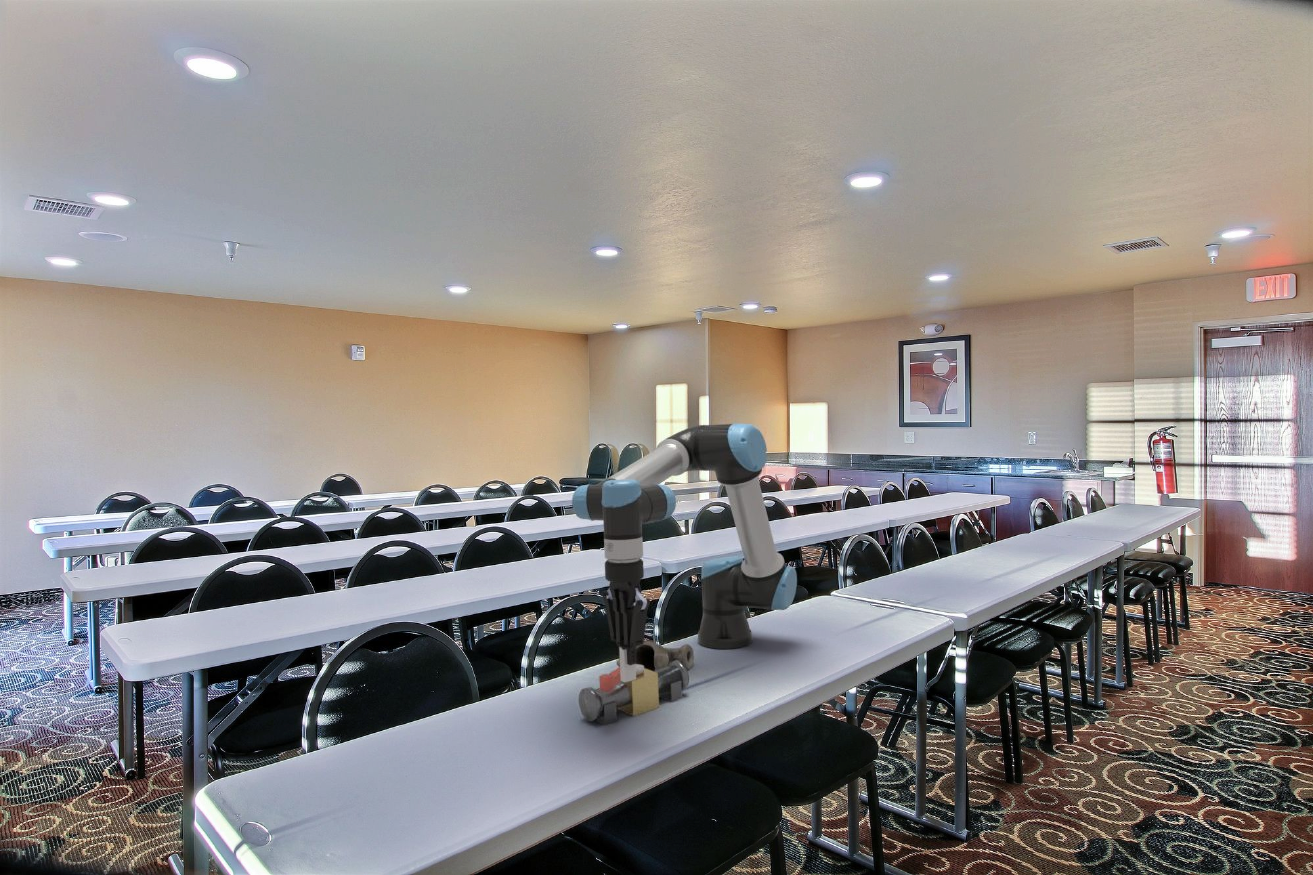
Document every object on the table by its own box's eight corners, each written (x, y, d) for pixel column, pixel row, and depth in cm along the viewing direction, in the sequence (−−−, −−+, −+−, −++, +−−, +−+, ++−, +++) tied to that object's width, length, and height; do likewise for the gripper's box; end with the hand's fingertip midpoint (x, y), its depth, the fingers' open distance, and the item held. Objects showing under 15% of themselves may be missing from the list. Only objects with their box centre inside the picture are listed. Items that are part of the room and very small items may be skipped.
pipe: (648, 699, 189) (621, 685, 178) (636, 668, 195) (609, 652, 183) (702, 667, 188) (679, 651, 176) (688, 636, 193) (665, 619, 182)
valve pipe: (670, 688, 174) (669, 656, 174) (690, 696, 168) (689, 663, 168) (579, 718, 158) (577, 683, 158) (597, 728, 153) (596, 692, 152)
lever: (630, 668, 166) (630, 653, 166) (647, 669, 164) (646, 654, 164) (594, 693, 151) (594, 677, 151) (612, 696, 149) (611, 679, 149)
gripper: (589, 558, 148) (593, 676, 148) (628, 566, 138) (633, 693, 138) (619, 553, 153) (624, 667, 153) (659, 560, 143) (664, 683, 143)
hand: (628, 679), depth 146 cm, fingers closed
